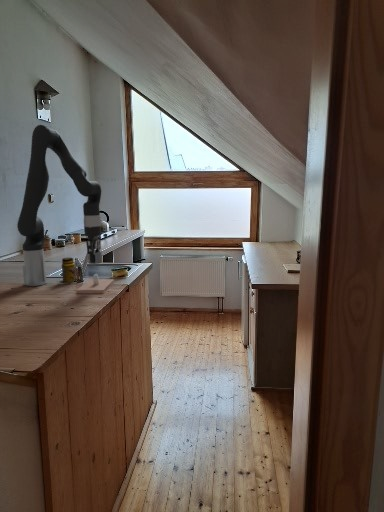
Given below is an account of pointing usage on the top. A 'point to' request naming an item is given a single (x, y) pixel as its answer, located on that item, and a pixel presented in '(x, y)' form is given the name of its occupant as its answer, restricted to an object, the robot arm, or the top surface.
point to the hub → (96, 257)
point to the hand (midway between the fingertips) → (95, 261)
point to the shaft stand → (95, 285)
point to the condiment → (68, 271)
